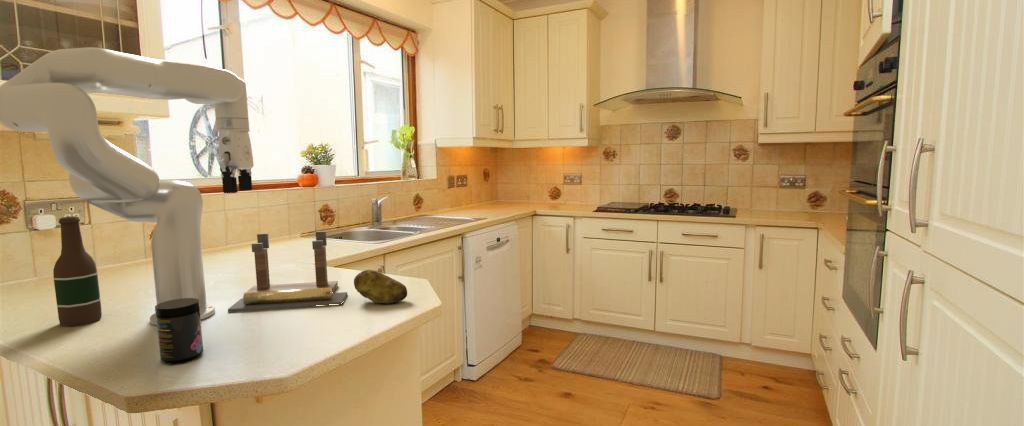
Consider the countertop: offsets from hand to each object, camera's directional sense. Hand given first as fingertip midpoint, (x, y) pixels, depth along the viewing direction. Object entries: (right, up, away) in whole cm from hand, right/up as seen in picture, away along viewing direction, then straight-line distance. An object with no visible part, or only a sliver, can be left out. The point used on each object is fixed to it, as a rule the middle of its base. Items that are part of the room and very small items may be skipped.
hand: (238, 191), depth 131 cm
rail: (+17, -26, -8) cm, 32 cm away
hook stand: (+13, -27, +4) cm, 30 cm away
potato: (+39, -28, -7) cm, 49 cm away
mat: (+17, -28, -7) cm, 34 cm away
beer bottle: (-26, -31, -18) cm, 44 cm away
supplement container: (+12, -33, -40) cm, 53 cm away
